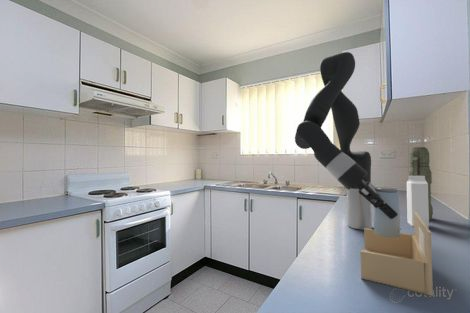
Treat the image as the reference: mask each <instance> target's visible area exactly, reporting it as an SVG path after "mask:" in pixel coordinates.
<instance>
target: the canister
mask: <svg viewBox="0 0 470 313" xmlns="http://www.w3.org/2000/svg"><path fill="white" fill-rule="evenodd" d="M375 190H376V191H377V192H378V193H379V194H380V197H381V198H382V199H383V200H384V201H385V202H386V203H387V204H388V205H389V206H390V207H391V208H392V209H393V210H394V211H396V212H397V214H398V215H397V216H396V217H395V218H393V219H390V218H389V217H388V216H387V215H386V214H385V213H384V212H382V211H381V210H380V209H378V208H376V207H374V206H373V228H374V233H375V234H377V235H379V236H383V237H389V238H398V237H400V233H401V219H400V218H401V217H400V215H401V214H400V213H401V212H400V211H401V209H400V206H401V205H400V191H398V188H395V187H388V186H387V187H386V186H384V187H383V186H379V187H377V186H376V187H375ZM377 201H378V199H376V200H375V203H376V202H377Z"/></svg>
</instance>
